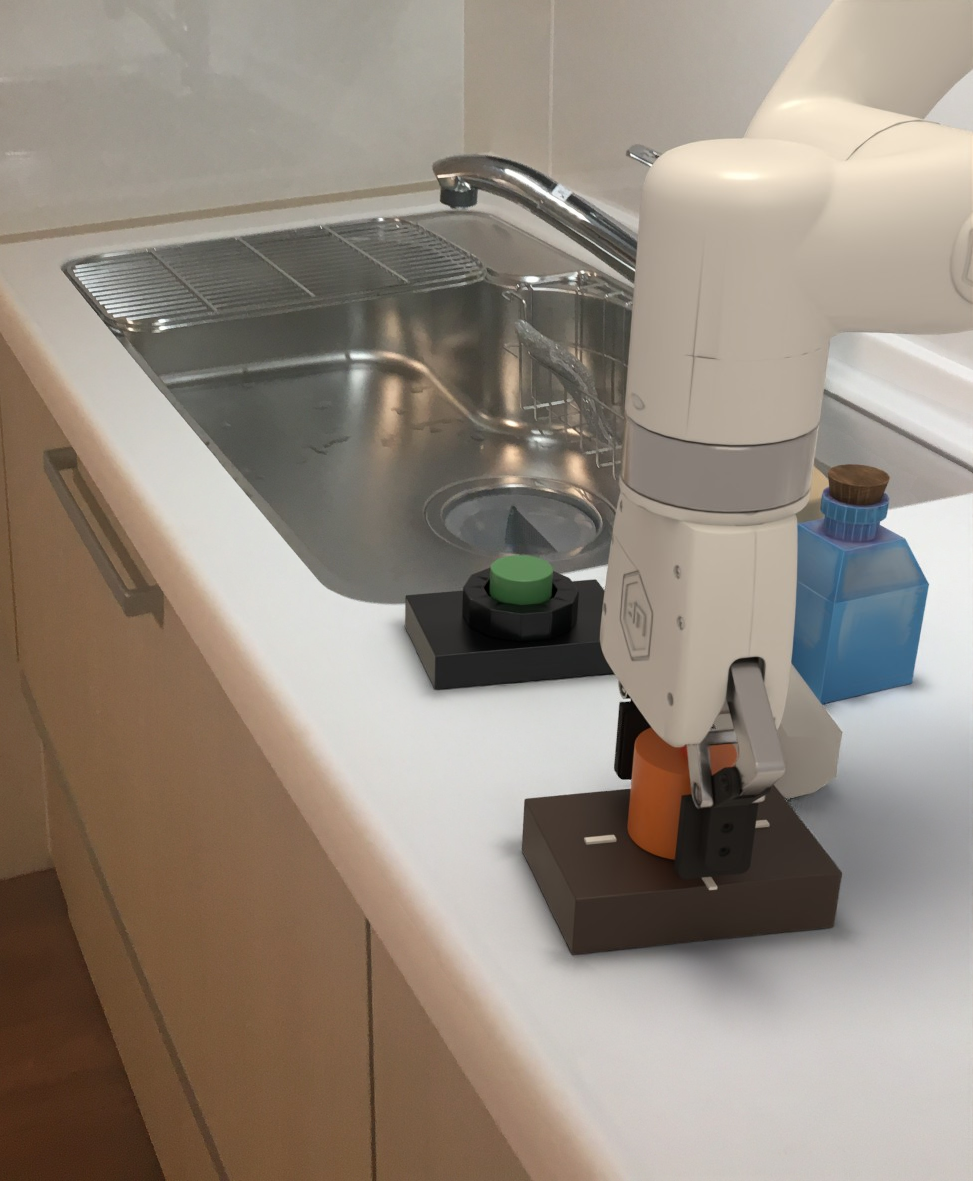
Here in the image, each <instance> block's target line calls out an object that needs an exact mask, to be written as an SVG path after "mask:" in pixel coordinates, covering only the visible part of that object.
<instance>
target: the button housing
mask: <svg viewBox="0 0 973 1181" xmlns="http://www.w3.org/2000/svg"><path fill="white" fill-rule="evenodd" d="M489 590H490V567H488V568H485V569H483V570H480V571H478V572H474V573H473V574H471V575H470V576H469V577H468V579H467V581H466V582H465V584H464V585H463V587H462V590H452V591H441V592H439V591H438V592H429V593H416V594H406V595H405V597H404V598H405V600H404V602H405V604H404V605H405V606H404V628H405V629H406V632H407V633H408V635H409V638H410V640H411V642H412V644H413V646H414V648H415V650H416V652H417V654H418V657H419V658H420V661H421V662H422V665H423V667H424V670H425V672H426V673H427V675H428V677H429V680H430V682H431V684H432V687H433V689H434V690H442V689H452V688H466V687H477V686H486V685H497V684H499V685H500V684H510V683H520V682H531V681H542V680H554V679H564V678H576V677H586V676H587V677H588V676H599V675H610V674H614V672H613V671H612V669H611V667H610V666H609V664H608V662H607V661H606V659H605V657H604V654H603V652H602V648H601V644H600V628H601V617H602V609H603V600H604V592H605V588H604V587H603V586H602V585H601V584H600V582H599V581H598V580H597V579H595V578H594V579H583V580H572V579H571V578H570V577H569V576H566V575H564V574H561V573H559V572H557V571H556V570H553V580H552V596H551V598H550V599H549V600H547V601H545V602H542V603H539V604H527V605H518V604H512V603H505V602H501V601H499V600H496V599H494V598H492V597H491V596H490V593H489Z"/></svg>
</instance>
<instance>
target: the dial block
mask: <svg viewBox="0 0 973 1181" xmlns="http://www.w3.org/2000/svg"><path fill="white" fill-rule="evenodd" d="M630 792H631V788H621V789H612V790H611V789H610V790H601V791H590V792H581V793H580V792H579V793H570V794H560V795H559V794H558V795H548V796H540V797H539V796H538V797H528V798H524V800H523V815H522V816H523V817H522V818H523V819H522V834H521V835H522V837H521V838H522V839H521V851H522V853H523V856H524V857H525V858H524V859H525V860H526V862H527V865H529V868H530V870H531V872H532V875H533V876H534V878H535V880H536V883H537V884H538V886H539V889H540V891H541V893H542V895H543V897H544V899H545V901H546V903H547V905H548V907H549V909H550V911H551V913H552V915H553V917H554V920H555V922H556V924H557V926H558V928H559V931H560V932H561V935H562V936H563V939H564V940H565V942H566V944H567V946H568V949H569V951H570V953H571V954H572V955H579V954H587V953H597V952H607V951H617V950H627V949H637V948H645V947H655V946H665V945H674V944H685V943H693V942H704V941H713V940H723V939H732V938H741V937H751V936H760V935H769V934H779V933H788V932H797V931H798V932H799V931H808V930H818V929H827V928H834V926H835V920H836V915H837V908H838V902H839V896H840V890H841V883H842V879H843V878H842V877H843V871H842V870H841V869H840V867H839V866H838V865H837V864H836V862H835V861H834V860H833V859H832V857H831V856H830V854H829V853H828V852H827V851H826V849H825V848H824V847H823V846H822V845H821V843H820V842H819V841H818V840H817V838H816V837H815V835H814V834H813V833H812V832H811V830H810V829H809V828H808V826H807V825H806V824H805V823H804V821H803V820H802V818H800V816H799V815H798V814H797V812H796V811H795V810H794V809H793V807H792V806H791V804H790V803H789V802H788V801H787V800H786V799H787V798H784V797H783V796H782V794H781V793H780V792H779V790H778V789H777V788H776V787H775V785H773V786H771V790H770V792H769V793H768V794H766V795H765V799H764V801H763V803H758V811H757V819H756V827H755V834H754V842H753V850H752V857H751V865H750V868H749V870H748V871H746V872H745V873H742V874H734V875H724V876H714V877H703V878H693V879H682V878H681V877H680V876H679V875H678V873H677V872H676V870H675V868H674V863H675V860H673V859H667V858H663V857H660V856H657V855H654V854H652V853H649V852H647V851H646V850H644V849H642V848H641V847H639V846H638V845H637V844H636V843H635V842H634V841H633V840H632V839H631V837H630V835H629V833H628V827H627V826H628V815H629V803H630Z"/></svg>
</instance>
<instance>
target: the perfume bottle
mask: <svg viewBox="0 0 973 1181" xmlns="http://www.w3.org/2000/svg"><path fill="white" fill-rule="evenodd" d="M827 479H828V480H829V487H827V488H825V489H824V490H823V492H822V498H821V505H820V510H821V512H822V513H823V514H824V515H825V517H824V518H823V519H818V520H813V521H808V522H803V523H798V524H797V587H796V607H795V623H794V636H793V649H792V658H791V663H792V665H793V666H794V667H795V669H796V670H797V671H798V673H799V674H800V676H801V677H802V678H803V680H804V681H805V682H806V684H807V685H808V686H809V688H810V689H811V690H812V692H813V693H814V694H815V696H816V697H817V698H818V700H819V701H820V703H821V704H822V705H823V704H827V703H832V702H837V701H841V700H845V699H850V698H853V697H858V696H862V695H867V694H870V693H871V694H872V693H875V692H880V691H884V690H887V689H888V690H889V689H892V688H898V687H901V686H905V685H909V684H912V683H913V681H914V680H913V679H914V673H915V668H916V662H917V656H918V650H919V645H920V640H921V639H920V638H921V633H922V627H923V621H924V617H925V616H924V615H925V610H926V604H927V599H928V593H929V588H930V583H929V581H928V579H927V577H926V575H925V574H924V572H923V569H922V568H921V566H920V564H919V562H918V560H917V558H916V556H915V555H914V553H913V551H912V549H911V546H910V544H909V543H908V540H907V539H906V538H905V537H903V536H901V535H900V534H898V533H896V532H895V531H892V530H890V529H889V528H886V527H885V526H883V525H881V522H883V521H884V520H885V519H887V516H888V510H889V505H890V497H889V495H888V494H887V493H886V489H887V487H888V485H889V482H890V479H891V476H890V475H889V474H888V473H887V472H886V471H884V470H883V469H880V468H877V467H874V466H871V465H865V464H859V463H858V464H856V463H853V464H852V463H847V464H839V465H835V466H832V467H831V468H829V469H828V471H827Z"/></svg>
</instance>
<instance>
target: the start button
mask: <svg viewBox="0 0 973 1181" xmlns="http://www.w3.org/2000/svg"><path fill="white" fill-rule="evenodd" d="M489 568H490V590H489V593H490V596H491V597H492V598H494V599H496V600H499V601H501V602H505V603H512V604H518V605H527V604H539V603H542V602H545V601H547V600H549V599H550V598H551V596H552V580H553V571H554V567H553V565H552V564H551V563H550V562H548V561H547V560H545V559H543V558H540V557H537V556H532V555H525V554H524V555H523V554H514V555H506V556H502V557H499V558H497V559H495V560H493V562H492V563H491V564H490V567H489Z"/></svg>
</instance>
